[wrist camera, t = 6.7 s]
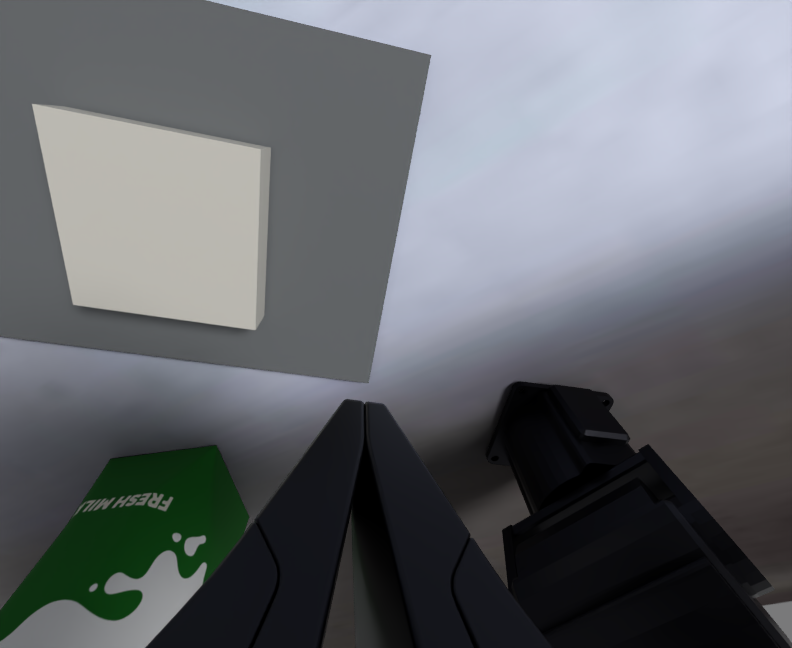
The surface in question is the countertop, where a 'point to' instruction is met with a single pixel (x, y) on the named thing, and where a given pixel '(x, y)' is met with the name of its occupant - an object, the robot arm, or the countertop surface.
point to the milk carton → (129, 554)
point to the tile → (158, 217)
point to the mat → (231, 119)
